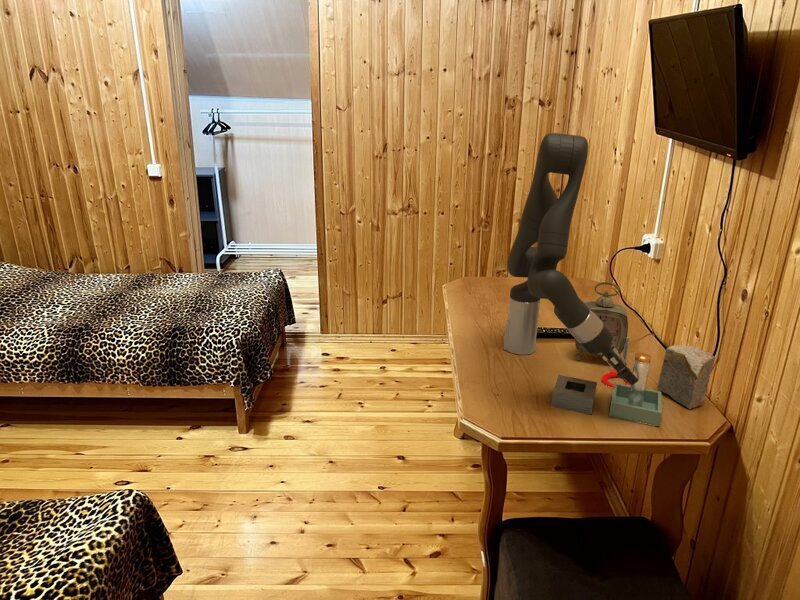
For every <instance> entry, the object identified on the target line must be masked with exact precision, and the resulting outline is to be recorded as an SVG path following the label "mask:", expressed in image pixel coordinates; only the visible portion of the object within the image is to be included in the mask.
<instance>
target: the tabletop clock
mask: <svg viewBox="0 0 800 600" xmlns="http://www.w3.org/2000/svg"><path fill="white" fill-rule="evenodd" d="M602 285H608V286H613V287H615V288H616V289H617V292H615V293H609V291H607V290H606V291H604V293H603V292H599V290H597V287H598V286H602ZM593 289H594V291H595V292H596V294H597V295H599V297H598V298H597V299H596V301H595V300H594V301H593V300H591V301H590V300H589V301H583V303H584V304H585V305H586V306H587V307H588V308H589V309H590V310H591V311H592V312H593V313H594V314H595V315H596V316H597V317H598V318H599V319H600V320H601V321H602V322H603V323H604V324H605V325H606V327H607V328H608V329H609V330H610V331H611V332H612V333H613V340H612V342H611V343H612V344H613V345H614V346H615V348H616V349H617V350H618V353H619V354H620V355H621V354H623V350H624V344H625V342H626V337H628V332H629V319H628V312H627V309H626V307H624V306H623V305H621V304H618V303H617V304H616V303H614V300H613V298H611V297H615V296H617V295H618V294H619V293H620V291H621V290H620V286H618V285H617V284H615V283H613V282H608V281H601V282H599V283H597V284H595V286H594V288H593ZM574 343H575V347H576V349H577V350H579V353H578V354H576V355H575V360H577V361H579V360H581V358H582V354H583V353H585V354H586V353H587V354H589V353H588V352H587V351H586V350H585V348H584V347H583V346H582V345H581V344H580V343H579V342H578V341H577V340H576V339H575V338H574ZM593 356H594V357H595V356H597V357H596V358H598V357H599V356H601V355H600V354H599V353H597V354H593Z"/></svg>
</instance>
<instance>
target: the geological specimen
mask: <svg viewBox="0 0 800 600" xmlns="http://www.w3.org/2000/svg"><path fill="white" fill-rule="evenodd" d="M663 357H664V358H663V362H662V366H661V370H660V374H659V378H658V382H657V389H659V391H660V392H661V393H664V394H667V395H668V396H670V397H671V399H673V400H675V401H676V402H677V403H679V404H681V405H683V406H684V407H686V408H687V409H689V410H691V409H693V408H696V407H699V406H701V405H702V404H704V402H705V398H706V394H707V390H708V386H709V385H708V384H709V382H710V379H711V376H710V374H712V372H713V367H714V363H715V360H716V356H714V355H713V353H711V352H709V351H706V350H703V348H701V347H696V346H694V345H689V346H688V345H684V344H678V345H670V346H669V347H666V350H665V355H664V356H663Z"/></svg>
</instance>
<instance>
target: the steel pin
mask: <svg viewBox="0 0 800 600" xmlns="http://www.w3.org/2000/svg"><path fill="white" fill-rule="evenodd" d="M651 359H652V355H650V354H649V353H647V352H646V353H645V352H637V353H635V356H634V361H633V367H632V373H633V374H634V375H635V376H636V377H637V379H638V382H636V383H635V384H634V385H630V391H629V397H628V403H627V404H628V405H632V406H637V407H642V406H643V400H644V395H645V389H647V381H648V376H649V371H650V365H651Z"/></svg>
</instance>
